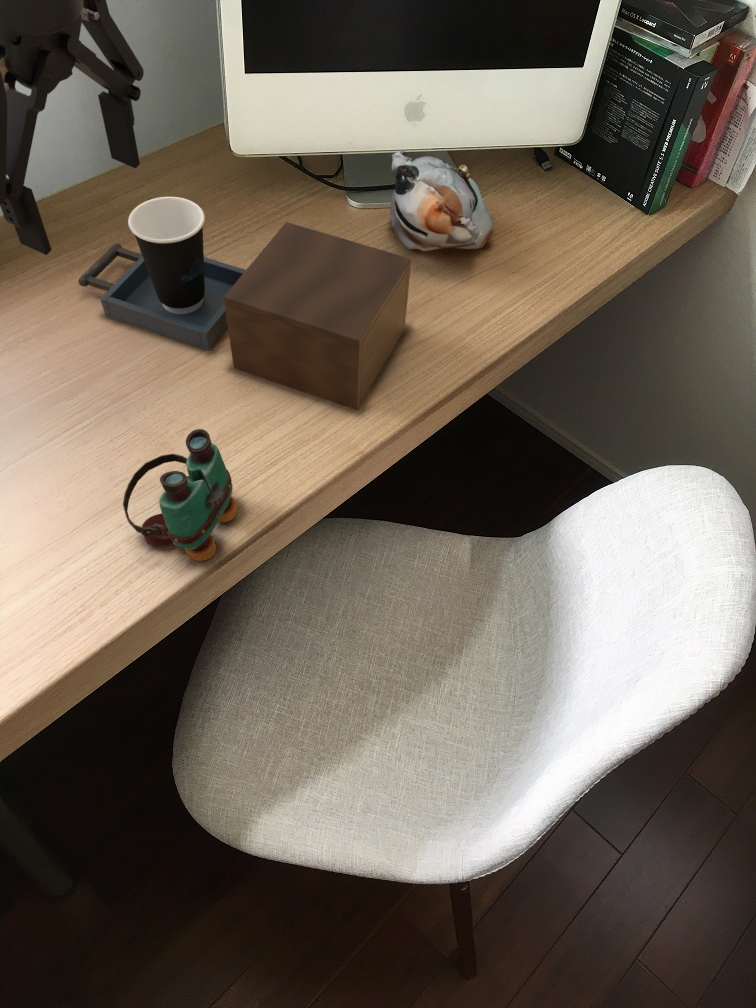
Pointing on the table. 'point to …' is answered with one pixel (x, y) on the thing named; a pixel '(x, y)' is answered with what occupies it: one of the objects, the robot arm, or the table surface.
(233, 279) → the drawer
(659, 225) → the table surface
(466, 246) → the lucky cat figurine
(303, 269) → the drawer unit
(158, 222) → the dixie cup
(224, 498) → the binoculars
